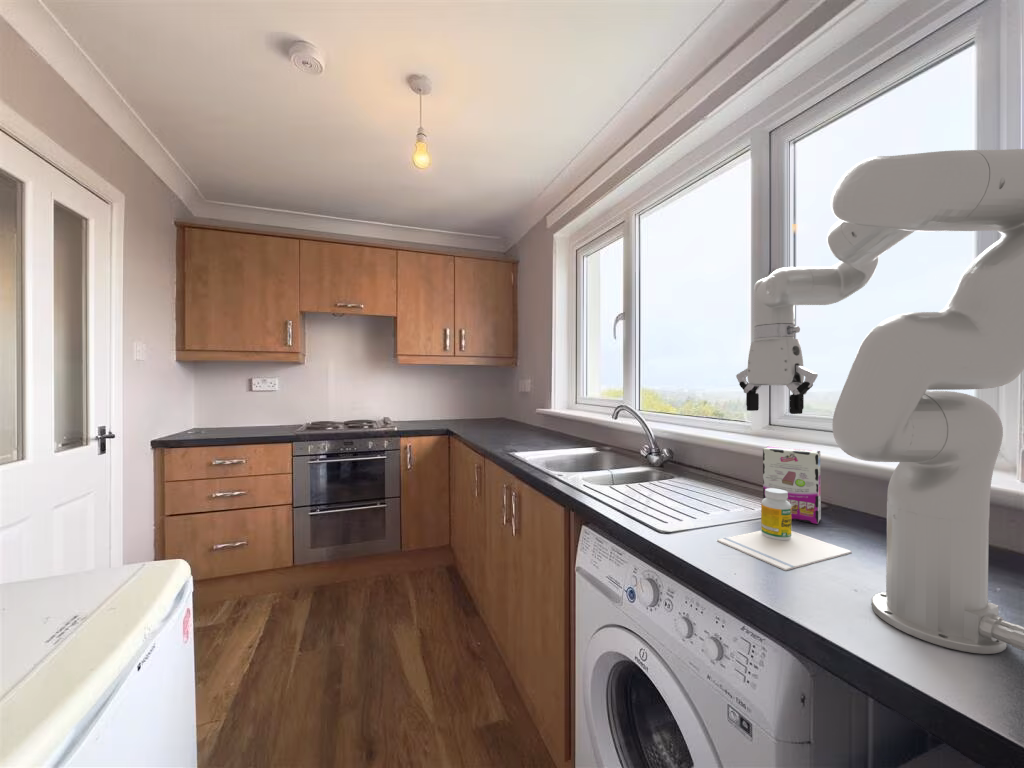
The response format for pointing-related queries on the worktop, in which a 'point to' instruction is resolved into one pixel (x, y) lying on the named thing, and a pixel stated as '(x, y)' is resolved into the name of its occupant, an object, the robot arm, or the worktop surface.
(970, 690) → the worktop surface
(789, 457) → the candy bar box
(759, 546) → the paper notebook
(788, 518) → the supplement bottle
